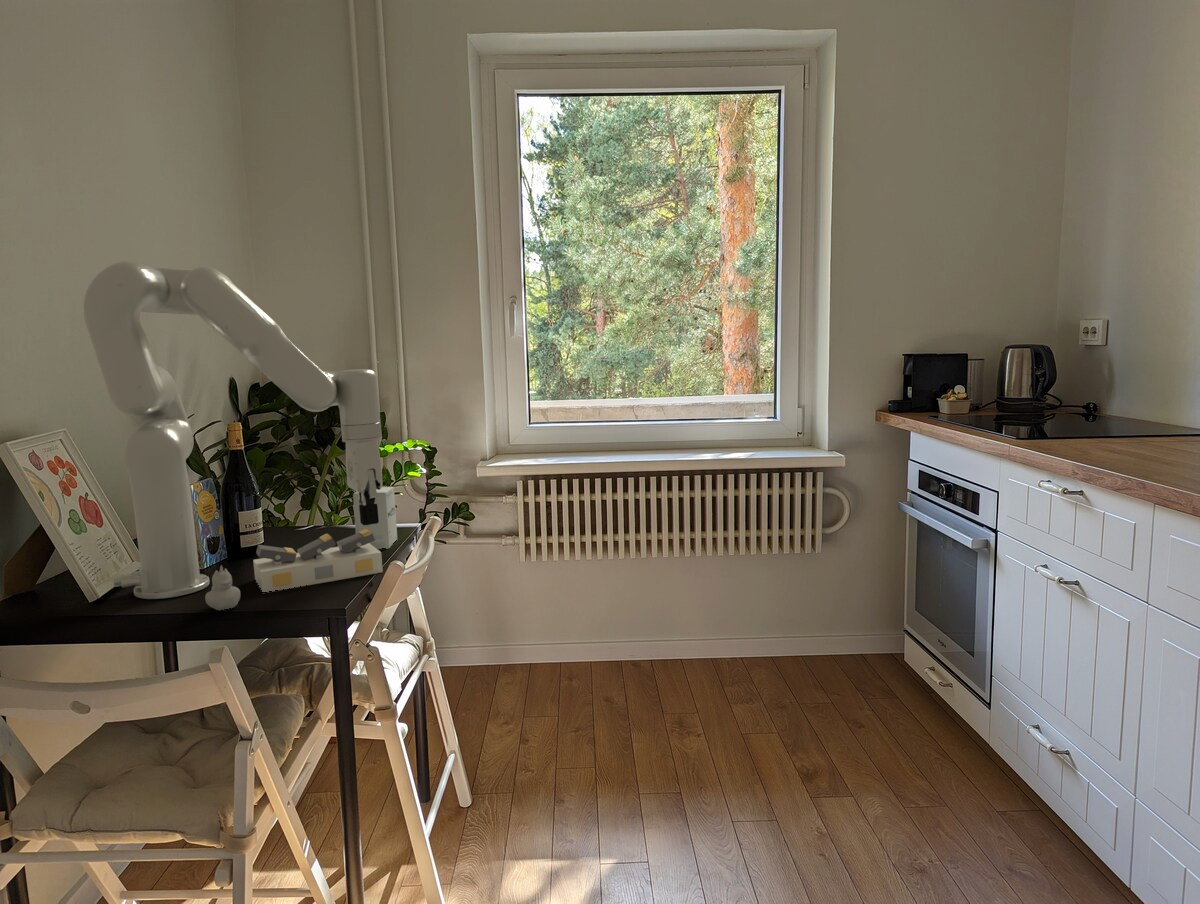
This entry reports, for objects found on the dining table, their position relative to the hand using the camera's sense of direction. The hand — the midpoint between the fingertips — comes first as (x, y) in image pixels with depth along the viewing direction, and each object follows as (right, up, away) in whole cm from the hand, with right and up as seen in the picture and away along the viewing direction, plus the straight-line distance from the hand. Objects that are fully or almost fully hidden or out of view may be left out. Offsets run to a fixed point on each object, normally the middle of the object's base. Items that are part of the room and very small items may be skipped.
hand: (369, 523), depth 161 cm
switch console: (-9, -10, -4) cm, 14 cm away
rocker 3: (-2, -4, -1) cm, 5 cm away
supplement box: (-4, -7, +19) cm, 20 cm away
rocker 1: (-15, -5, -8) cm, 18 cm away
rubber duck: (-19, -13, -21) cm, 31 cm away
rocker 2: (-9, -4, -5) cm, 11 cm away
